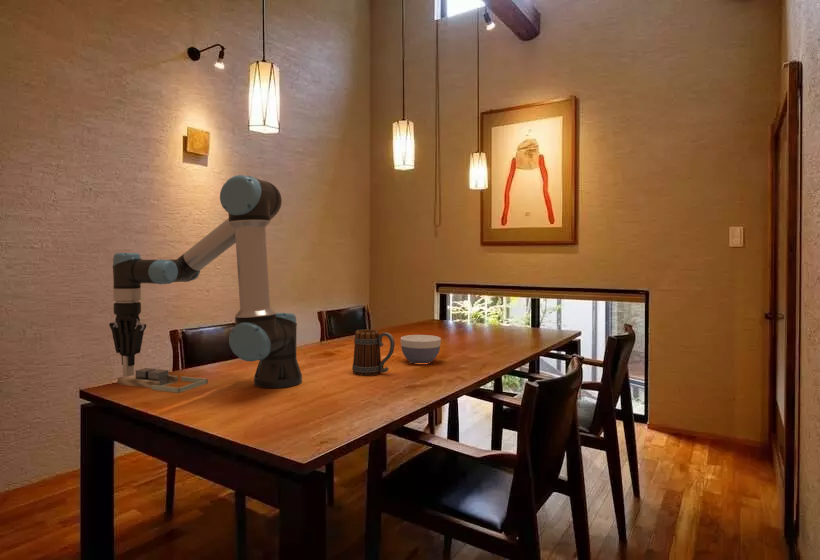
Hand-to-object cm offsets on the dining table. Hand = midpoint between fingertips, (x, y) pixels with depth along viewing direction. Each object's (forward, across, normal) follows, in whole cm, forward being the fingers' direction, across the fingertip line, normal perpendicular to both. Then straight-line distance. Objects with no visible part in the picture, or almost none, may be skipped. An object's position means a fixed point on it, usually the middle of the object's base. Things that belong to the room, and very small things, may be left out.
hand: (128, 375), depth 158 cm
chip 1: (+2, -7, 0) cm, 7 cm away
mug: (+3, -67, -42) cm, 79 cm away
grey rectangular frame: (+3, -21, 0) cm, 21 cm away
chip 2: (+2, -12, 0) cm, 12 cm away
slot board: (+3, -8, 0) cm, 9 cm away
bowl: (+3, -77, -66) cm, 101 cm away
